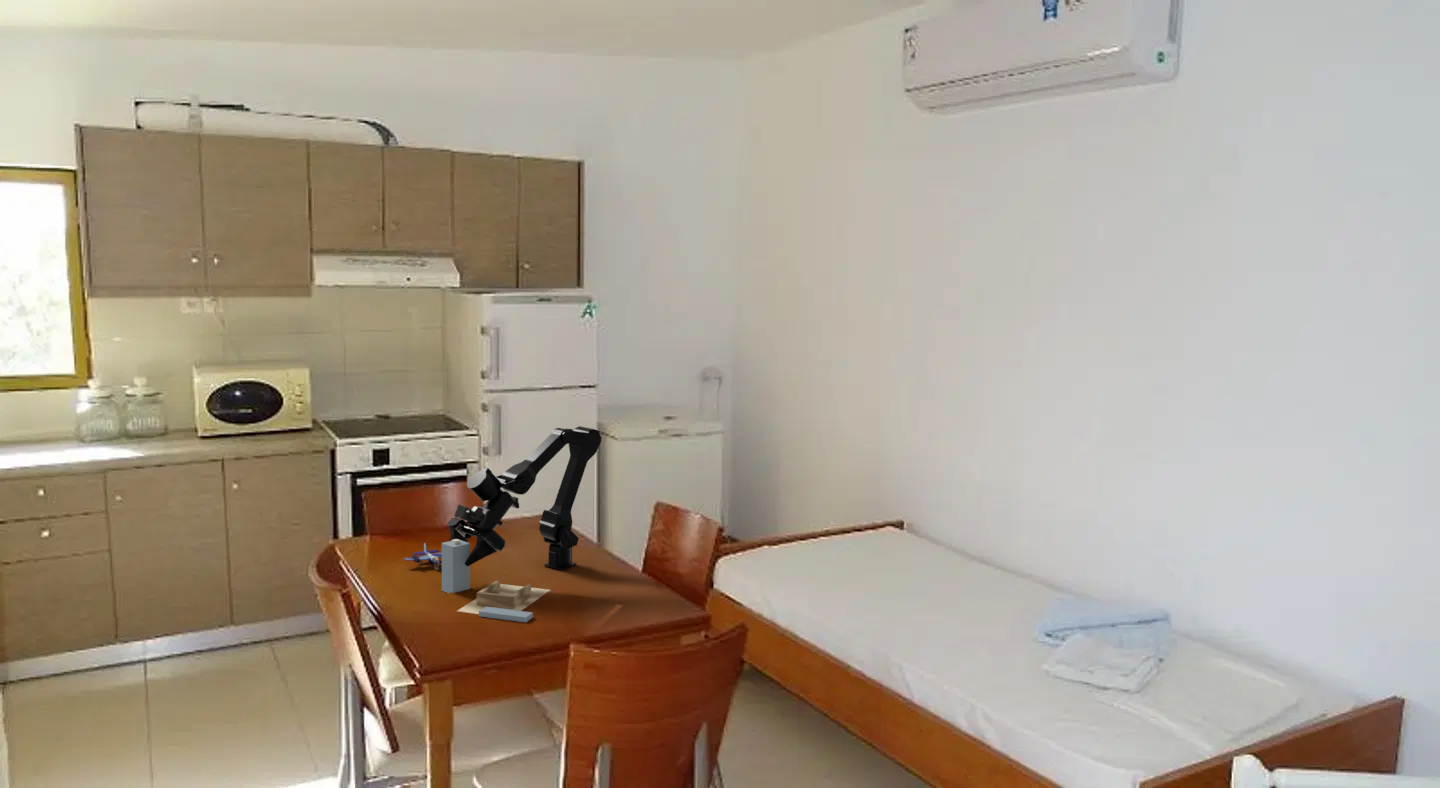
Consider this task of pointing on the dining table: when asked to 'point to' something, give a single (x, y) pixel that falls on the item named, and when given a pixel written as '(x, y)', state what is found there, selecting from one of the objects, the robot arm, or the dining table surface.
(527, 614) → the light blue bar
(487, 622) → the dining table surface
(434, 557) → the toy airplane
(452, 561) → the blue-grey rectangular block
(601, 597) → the dining table surface
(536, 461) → the robot arm
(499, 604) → the jig
